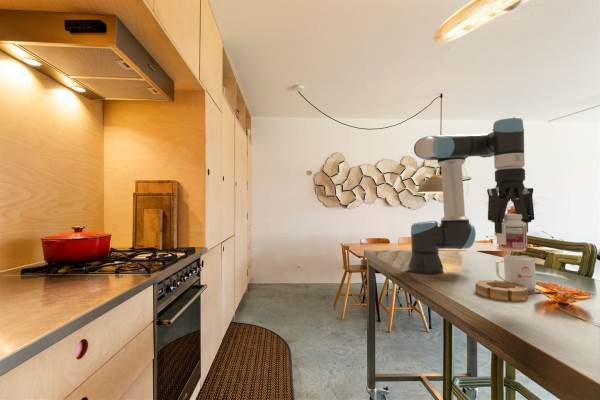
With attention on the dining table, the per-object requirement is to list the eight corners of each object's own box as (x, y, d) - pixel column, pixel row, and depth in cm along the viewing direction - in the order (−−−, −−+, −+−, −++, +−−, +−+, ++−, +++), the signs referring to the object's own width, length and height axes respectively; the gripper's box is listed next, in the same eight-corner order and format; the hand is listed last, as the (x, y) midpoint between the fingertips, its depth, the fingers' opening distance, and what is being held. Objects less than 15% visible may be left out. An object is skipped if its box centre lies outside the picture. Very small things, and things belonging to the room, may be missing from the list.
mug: (526, 285, 106) (525, 255, 106) (542, 292, 97) (540, 259, 97) (491, 284, 108) (489, 255, 108) (503, 290, 99) (502, 259, 99)
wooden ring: (467, 289, 101) (466, 280, 102) (502, 287, 103) (502, 279, 103) (498, 301, 87) (498, 291, 88) (539, 299, 89) (538, 290, 89)
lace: (522, 293, 95) (522, 292, 95) (554, 292, 97) (554, 290, 97) (524, 294, 95) (524, 292, 95) (557, 292, 96) (556, 291, 96)
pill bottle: (508, 248, 90) (507, 213, 90) (530, 250, 84) (529, 214, 85) (496, 249, 87) (495, 214, 88) (519, 252, 82) (518, 214, 82)
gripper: (490, 167, 82) (492, 246, 82) (549, 167, 84) (552, 244, 84) (471, 170, 90) (474, 243, 89) (526, 170, 92) (529, 241, 91)
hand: (511, 243), depth 86 cm, fingers closed on pill bottle, 6 cm apart
